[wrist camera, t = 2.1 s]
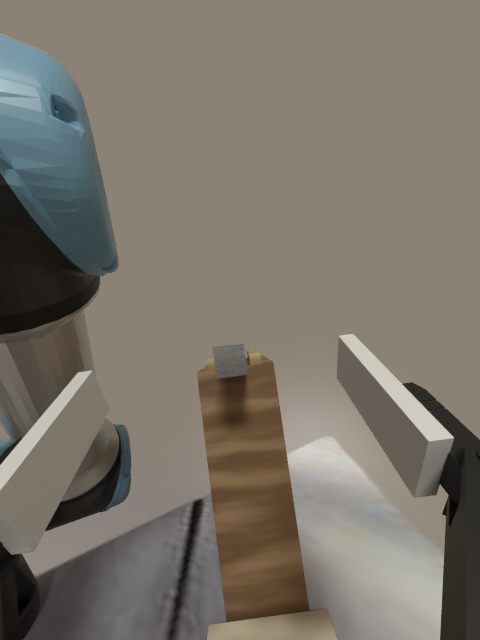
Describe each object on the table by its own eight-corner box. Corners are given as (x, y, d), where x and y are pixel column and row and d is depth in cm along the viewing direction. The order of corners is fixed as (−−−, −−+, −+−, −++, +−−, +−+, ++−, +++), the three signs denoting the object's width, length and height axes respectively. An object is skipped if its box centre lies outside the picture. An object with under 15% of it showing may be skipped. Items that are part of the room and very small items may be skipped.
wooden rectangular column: (309, 611, 31) (271, 350, 34) (227, 622, 31) (195, 361, 34) (287, 520, 47) (262, 347, 50) (232, 527, 47) (210, 354, 50)
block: (247, 374, 25) (243, 343, 25) (216, 378, 25) (212, 347, 25) (245, 358, 49) (243, 342, 49) (229, 360, 49) (227, 344, 49)
